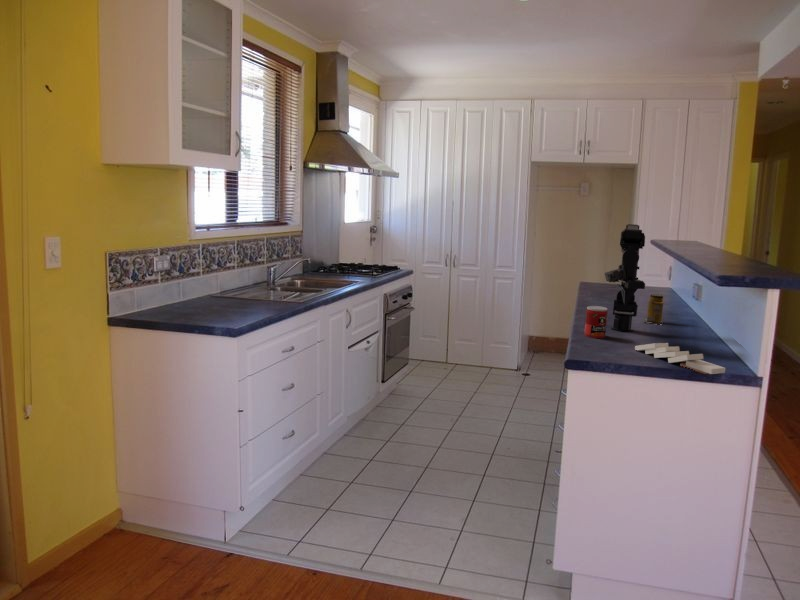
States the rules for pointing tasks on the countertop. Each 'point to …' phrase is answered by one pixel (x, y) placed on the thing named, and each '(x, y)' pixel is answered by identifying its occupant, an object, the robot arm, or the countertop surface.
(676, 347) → the domino
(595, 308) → the canned food
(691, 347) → the countertop surface
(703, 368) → the domino
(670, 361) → the domino
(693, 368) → the domino
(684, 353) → the domino
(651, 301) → the condiment
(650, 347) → the domino
